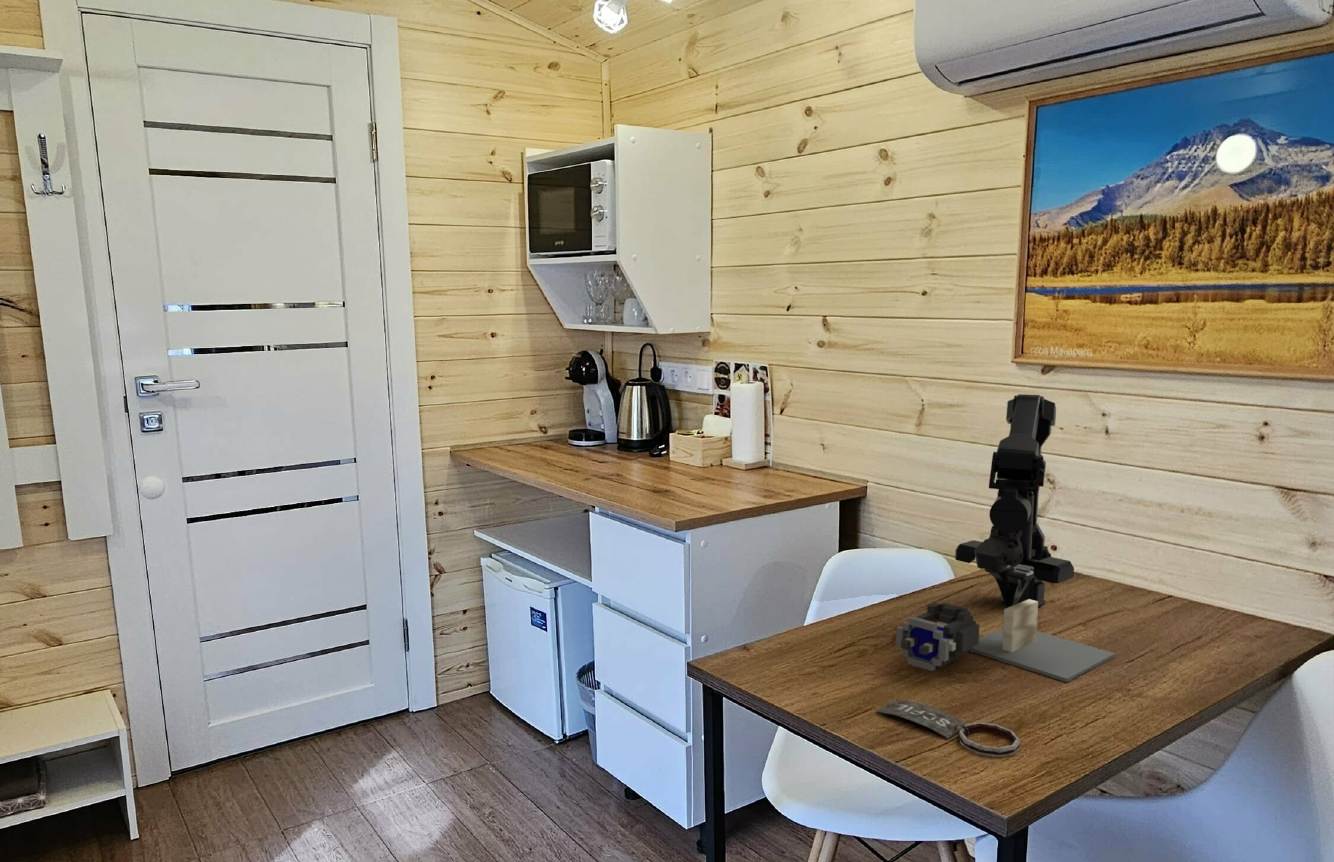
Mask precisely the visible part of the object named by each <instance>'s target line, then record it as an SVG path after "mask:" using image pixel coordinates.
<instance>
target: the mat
mask: <svg viewBox="0 0 1334 862" xmlns="http://www.w3.org/2000/svg"><path fill="white" fill-rule="evenodd" d="M1002 642H1003V628H1001V629H999V630H997V631H993V632H991V633H989V634H987V635H984V636H982V637H979V644H977V645H975V646H974V647H972V649H970V650H968V651H969V652H972V653H975V654H978V655H981V656H984V657H987V658H990V659H994V660H996V661H999V662H1002V663H1006V664H1008V665H1011V666H1014V667H1018V668H1021V667H1022V668H1021V669H1025V670H1027V671H1031V672H1034V673H1036V672H1037V674H1039V673H1041V674H1040V675H1043V676H1045V675H1046V677H1049V676H1050V677H1049V678H1051V679H1055V680H1058V679H1059V680H1058V681H1062V682H1065V683H1069V682H1071V681H1073V680H1074V678H1075V679H1077V678H1078V677H1080V676H1082V675H1084V674H1086V673H1087V671H1088V670H1090V669H1091V670H1094V669H1095V668H1097V667H1099V666H1101V665H1102V664H1105V663H1106V662H1108V661H1110V660H1112V659H1113V658H1115V657H1116V653H1115V652H1112V651H1108V650H1105V649H1100V648H1097V647H1094V646H1090V645H1086V644H1083V643H1079V642H1076V641H1073V640H1069V639H1065V638H1062V637H1060V636H1055V635H1052V634H1049V633H1046V632H1045V633H1044V632H1042V631H1038V630H1037V634H1036V641H1035V642H1033V643H1031V644H1028V645H1026V646H1024V647H1022V648H1020V649H1018V650H1015V651H1013V652H1009V651H1005V650H1002ZM968 651H967V652H968ZM1094 667H1095V668H1094ZM1091 670H1090V671H1091ZM1085 672H1086V673H1085ZM1088 672H1089V671H1088ZM1083 673H1084V674H1083ZM1081 674H1082V675H1081ZM1079 675H1080V676H1079ZM1077 676H1078V677H1077ZM1076 677H1077V678H1076ZM1072 679H1073V680H1072ZM1068 681H1069V682H1068Z"/></svg>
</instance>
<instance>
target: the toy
mask: <svg viewBox="0 0 1334 862" xmlns="http://www.w3.org/2000/svg"><path fill="white" fill-rule="evenodd" d="M895 635H896V637H895V638H896V641H895V648H898V649H901V656H903V657H906V658H907V664H908V665H910V666H911V665H912V666H914V667H918V668H921V669H924V670H927V671H930V672H933V671H934V670H936V668H938V669H941V668H942V667H944V666H946V665H947V664H949V663H951V662H954V660H957V658H959V657H961V656H962V655H965V654H966V653H967V652H968V650H970V649H972V647H974V646H975V645H977V644H979V638H980V624H978V623H977V621H975V620H974V616H972V615H971V611H970V610H969V611H968V608H966V607H962V606H958V605H954V604H950V603H946V602H942V603H938V602H933V603H930V604H928V605H927V610H926V612H923V613H921V614H920V615H917V616H910V617H909V618H908V620H907V621H903V622H902V625H900V626H897V627H896V633H895Z"/></svg>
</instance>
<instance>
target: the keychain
mask: <svg viewBox="0 0 1334 862" xmlns="http://www.w3.org/2000/svg"><path fill="white" fill-rule="evenodd" d="M875 713H876V714H877V715H879V716H881V717H886V716H889V715H892V716H895V717H898V718H901V719H905V720H908V721H910V722H912V723H915V724H918V725H921V726H924V727H925V728H928V729H930V730H932V731H933V732H936V733H937V734H939V736H938V737H939V738H941V739H944V740H950V739H951V738H952V737H954V736H955V735H957V734H958V735H957V737H958V740H959V743H960V745H961V746H962V747H964V748H966V749H967V750H969V751H970V752H972V753H974V754H978V755H983V756H986V757H987V756H988V757H990V758H991V757H992V758H1001V757H1012V756H1013V755H1014V754H1016V753H1017V752H1018V751H1020V750H1021V748H1020V744H1021V739H1020V738H1019V737H1018V736H1017V735H1016V733H1015V732H1014V731H1013V730H1011V729H1009V728H1007V727H1004V726H1001V725H1000V724H995V723H988V722H972V723H967V722H964V721H963V720H961V719H959V718H957V717H956V716H955V715H954V716H953V715H951V714H950V713H946V712H944V711H942V710H940V709H936V708H934V707H931V706H928V705H926V704H925V705H924V704H921V703H919V702H915V701H910V700H905V699H904V700H903V699H895V700H893V701H891V702H890V703H887V704H886V705H885V706H882V707H881V708H879V709H877V710H875ZM982 732H984V733H988V734H994V735H1000V736H1002V737H1003V738H1004V739H1006V740H1009V741H1011V743H1012V744H1011V745H1006V746H1000V747H996V746H988V745H981V744H979V743H977V742H975V741H973V740H970V739H968V738H967V737H968V736H969V734H971V733H982Z"/></svg>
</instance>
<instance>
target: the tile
mask: <svg viewBox="0 0 1334 862" xmlns="http://www.w3.org/2000/svg"><path fill="white" fill-rule="evenodd" d="M1038 607H1039V606H1038V601H1035V600H1031V599H1028V600H1026V601H1023V602H1021V603H1018V604H1016V605H1013V606H1011V607H1008V608H1006V607H1005V608H1004V609H1003V626H1002V629H1003V642H1002V650H1005V651H1009V652H1013V651H1015V650H1018V649H1020V648H1022V647H1024V646H1026V645H1028V644H1031V643H1033V642H1035V641H1036V634H1037V631H1038V615H1039V614H1038V611H1039V608H1038Z"/></svg>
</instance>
